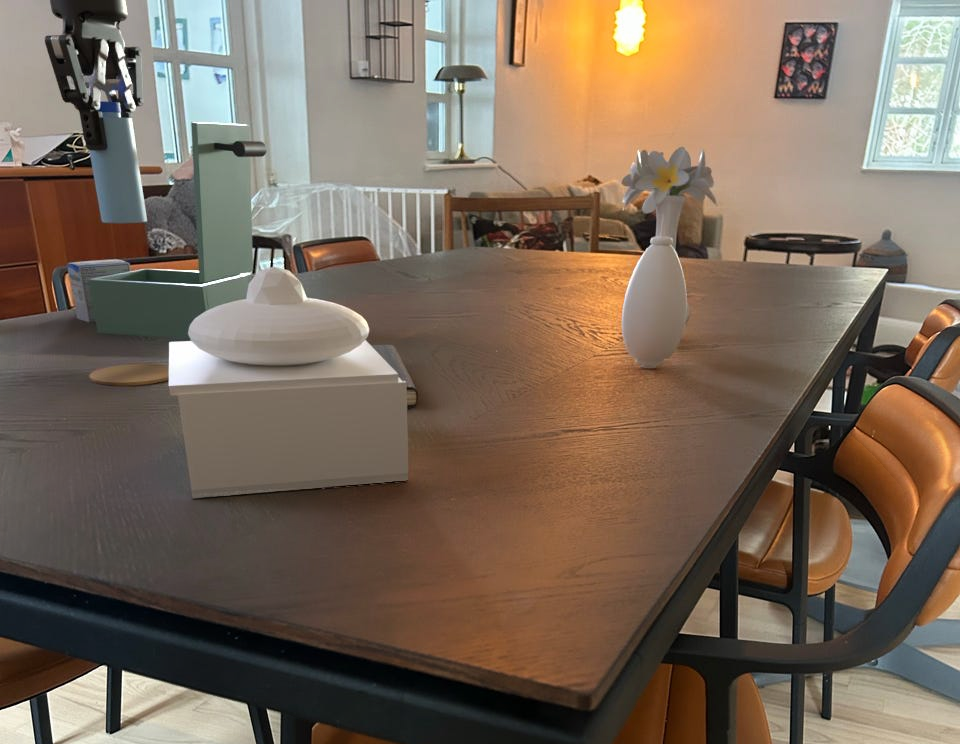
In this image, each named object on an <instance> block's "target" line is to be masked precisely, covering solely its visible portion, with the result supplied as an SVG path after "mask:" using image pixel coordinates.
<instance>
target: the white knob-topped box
mask: <svg viewBox="0 0 960 744" xmlns="http://www.w3.org/2000/svg"><path fill="white" fill-rule="evenodd" d="M369 333H370V327H369V323H368V322H367V321H366V319H365V318H364V317H363V316H362V315H361V314H359V313H358V312H356V311H354V310H353V309H351V308H349V307H346V306H344V305H341V304H338V303H336V302H331V301H328V300H322V299H318V298H311V297H307V294H306V292H305V289H304V286H303V284H302V282H301V281H300V280H299V279H298V278H297V277H296V276H295V274H293V273H292V272H291V271H290V270H289V269H284V268H281V267H277V266H271V267H267V268H264V269H261V270H258V271H257V272H256V273H255V275H254V276H253V277H252V278H251V282H250V283H249V285H248V291H247V297H246V299H244V300H238V301H233V302H230V303H226V304H222V305H219V306H216V307H214V308H212V309H210V310H207V311H205V312H204V313H202V314H201V315H199V316H198V317H196V318H195V319H194V320H193V322H192V323H191V324H190V326H189V331H188V335H189V337H190V339H189V340H188V341H187V340H186V341H183V340H182V341H169V342H168V366H169V380H168V391H169V396H170V397H177V401H178V408H179V409H178V410H179V415H180V416H179V417H180V422H181V428H182V435H183V441H184V442H183V443H184V449H185V457H186V463H187V464H186V465H187V470H188V477H189V484H190V491H191V495H192V494H199V493H216V492H217V493H218V492H236V491H247V490H269V489H287V488H302V487H303V488H305V487H323V486H336V485H337V486H340V485H354V484H368V483H382V484H384V483H383V482H392V481H403V480H408V481H409V473H410V471H409V470H410V469H409V466H410V465H409V432H408V431H409V427H408V408H407V385H406V381H402V380H401V379H400V378H399V377H398V373H397V372H396V371H395V370H394V369H393V368H392V367H391V366H390V365H389V364H388V363H387V362H386V361H385V360H384V359H383V358H382V357H381V356H380V355H379V354H378V353H377V351H376V350H375V349H374V348H373V347H372V346H371V345H372V344H370V343H369V342H368V341H367V338H368V337H369Z"/></svg>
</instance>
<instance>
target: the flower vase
mask: <svg viewBox="0 0 960 744" xmlns="http://www.w3.org/2000/svg"><path fill="white" fill-rule="evenodd" d="M706 162H707V161H706V151H705V149H704V148H702V150H701V153H700V156H699V160H698V164H697V165H692V159H691V156H690V153H689V151H687V150H686V148H685V147H684V146H680V147H678V148H676V149H675V150H674V151H673V152H672V154H671V156H670V157H669V159H668V161H667V160H666V158H665V157H664V152H663V151H662V152H659V151H657V150H651V152H648V150H647V149H642V150H641V151H639V149H638V150H637V154H636V164H635V162H632V164H631V166H630V173H628V174H626V175H625V176H624V177H623V178H622V179H621V184H622V186H624V187H627V189H626V191H625V193H624V195H623V198H622V204H624V203H625V204H624V206H623V209H622V211H624V210H625V209H626V208H627V206H628V205H629V204H630V203H631V202H633V201H634V200H636V199H637V198H638V197H639V196H641V194H642V193H643V192H645V191H647V192H649V194H648V196H647V197H646V198H645V200H644V202H643V203H642V204H643V205H642V207H641V210H642V212H643V214H650V213H652V212H654V211H655V218H656V224H655V236H654V237H657V236H660V231H661V223H662V217H663V214H664V213H665V230H664V236H665V237H670V238H672V244H670V245H671V246H672V247H673V248H674V250H675V251H676V247H677V236H678V228H679V222H680V218H681V213H682V210H683V206H684V204H685V202H686V201H687V196H686V195H688V196H690V197H691V198H693V199H694V200H696V201H699V202H702V201H704V200H705V199H706V197H707V198H708V199H709V200H710V201H711V202H712V203H713V204H714V205H715V206H716V207H718V206H719V205H718V202H717V199H716V197H715V195H714V193H713V192H712V190H711V189H710V188H713V187H714V186H715V181H714V177H713V175H712V171H713V170H712V169H711V167H709V166H706V165H707V163H706ZM650 192H651V193H650ZM690 318H691V307H690V304H689V303H688V301H687V313H686V321H685V326H686V325H687V323H688V322H689V320H690Z"/></svg>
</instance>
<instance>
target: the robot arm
mask: <svg viewBox="0 0 960 744" xmlns="http://www.w3.org/2000/svg"><path fill="white" fill-rule="evenodd" d="M49 3H50V8H51V9H50V10H51V13H52V14H53V15H54V17H56V18H58V19H60V20H62V33H61V34H52V35H46V36H44V43H45V44H44V45H45V47H46V50H47V54H48V57H49V60H50V63H51V64H50V65H51V66H52V70H53V74H54V76H55V80H56V83H57V87H58V89H59V93H60V96H61V99H62V101H63V102H64V103H66V104H67V103H69V104H71V105H73V107H74V108H75V110H77V111H78V112H79V113H78V114H79V118H80V119H79V120H80V125H81V128H82V129H81V131H82V136H83V140H84V142H85V146H86V149H87V150H88V151H89V150H106V149H107V140H106V134H105V128H104V122H103V116H102V112H100V111H97V110H99V109H100V101H101V91H102V92H104V93H105V96H106V99H107V102H119V103H120V107H121V117H122V118H132V124H133V130H134V137H135V143H136V149H137V147H138V144H137V137H136V136H137V135H136V130H135V123H134V117H133V116H134V115H133V113H134V112H136V108H137V107H142V106H143V105H144V89H143V87H144V85H143V54H142V50H141V48H140V47H139V46H129V45H127V44H125V39H124V37H123V34H122V32H121V29H120V23H121V22H125V21H126V20H127V18H128V8H127V3H126V0H49ZM68 77H69V80H68ZM69 81H70V83H71V84H72V85H73V88H71V87H70V83H69ZM131 87H132V92H131V90H130V88H131ZM88 89H89V92H88ZM116 91H117V93H116Z"/></svg>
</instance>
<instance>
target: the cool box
mask: <svg viewBox="0 0 960 744" xmlns="http://www.w3.org/2000/svg"><path fill="white" fill-rule="evenodd" d="M251 280H252V274H251V273H243V274H238V275H234V276H230V277H226V278H222V279H218V280H213V281H209V282H205V283H203V282H199V270H183V269H182V270H181V269H179V270H178V269H160V268H139V269H135V270H131V271H129V272H124V273H119V274H114V275H109V276H104V277H99V278H93V279H89V280H88V282H89V287H90V293H91V298H92V304H93V309H94V315H95V326H96V331H97V334H111V335H122V336H123V335H125V336H138V337H153V338H166V339H178V340H191V339H190V337H189V335H188V331H189V326H190V324H191V323H192V322H193V320H194V319H195V318H196V317H198V316H199V315H201V314H202V313H204V312H205V311H207V310H210V309H212V308H214V307H216V306H219V305H222V304H226V303H230V302H233V301H238V300H244V299H246V297H247V291H248V285H249V283H250V282H251Z"/></svg>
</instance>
